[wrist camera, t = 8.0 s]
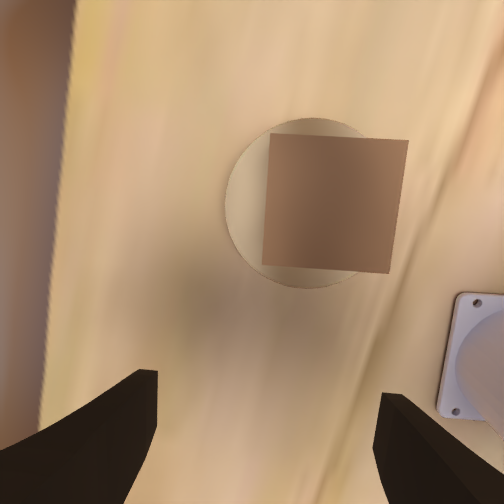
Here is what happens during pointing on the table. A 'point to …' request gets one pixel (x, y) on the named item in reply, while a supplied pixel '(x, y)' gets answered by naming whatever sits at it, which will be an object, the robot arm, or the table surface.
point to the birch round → (254, 200)
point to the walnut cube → (332, 202)
